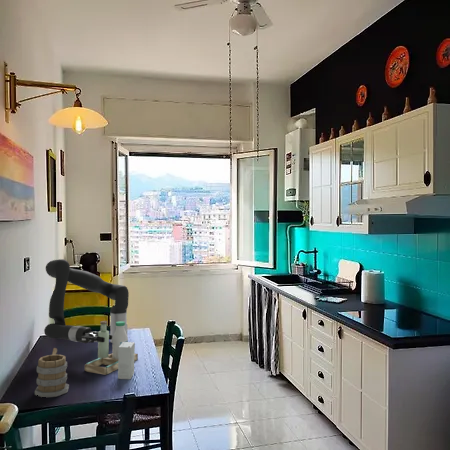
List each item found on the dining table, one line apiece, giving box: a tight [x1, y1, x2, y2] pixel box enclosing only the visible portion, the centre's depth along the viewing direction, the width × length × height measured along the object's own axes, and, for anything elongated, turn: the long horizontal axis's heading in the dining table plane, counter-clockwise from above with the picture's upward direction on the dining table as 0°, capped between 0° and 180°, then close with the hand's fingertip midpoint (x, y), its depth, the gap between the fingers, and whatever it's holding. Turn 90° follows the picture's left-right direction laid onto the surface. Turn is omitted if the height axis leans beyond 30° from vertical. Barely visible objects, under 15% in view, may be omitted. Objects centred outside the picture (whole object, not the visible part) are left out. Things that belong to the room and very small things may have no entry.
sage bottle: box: [97, 320, 110, 359], centre depth 215 cm, size 5×5×17 cm
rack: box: [84, 353, 139, 376], centre depth 221 cm, size 25×12×3 cm, turn 156°
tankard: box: [34, 347, 70, 398], centre depth 190 cm, size 20×13×15 cm, turn 12°
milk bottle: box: [111, 321, 129, 359], centre depth 227 cm, size 8×8×20 cm
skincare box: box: [117, 341, 136, 380], centre depth 205 cm, size 8×6×15 cm
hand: (107, 338), depth 214 cm, fingers closed on sage bottle, 5 cm apart
